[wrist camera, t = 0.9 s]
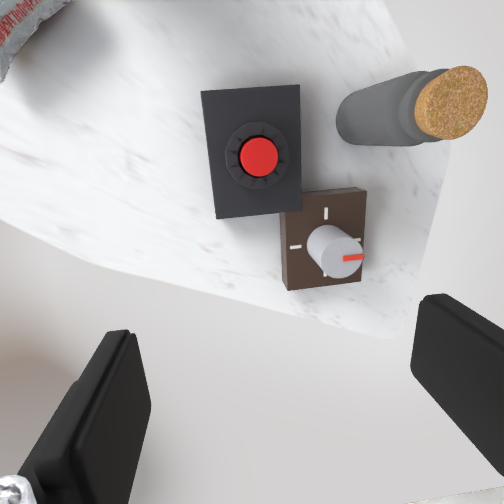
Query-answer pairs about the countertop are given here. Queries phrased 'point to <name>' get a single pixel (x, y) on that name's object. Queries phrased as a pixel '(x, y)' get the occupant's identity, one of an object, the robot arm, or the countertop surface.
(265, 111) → the push button base
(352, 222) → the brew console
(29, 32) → the packaged food
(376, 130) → the bottle
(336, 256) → the dial
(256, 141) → the power button
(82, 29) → the countertop surface
